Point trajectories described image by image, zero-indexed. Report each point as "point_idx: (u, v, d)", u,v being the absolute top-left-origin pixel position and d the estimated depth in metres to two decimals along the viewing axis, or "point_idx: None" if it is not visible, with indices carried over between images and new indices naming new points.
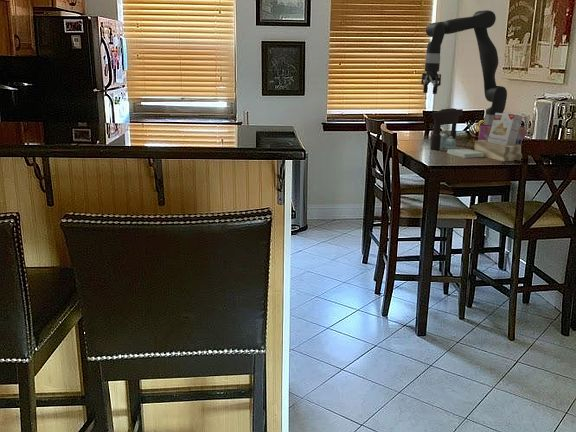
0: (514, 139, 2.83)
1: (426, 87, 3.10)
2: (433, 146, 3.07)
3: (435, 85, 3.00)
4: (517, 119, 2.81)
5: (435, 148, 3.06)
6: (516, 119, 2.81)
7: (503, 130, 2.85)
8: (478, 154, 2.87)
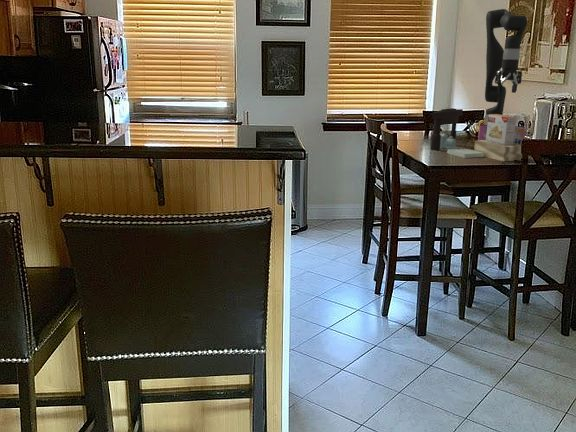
0: (511, 141, 2.82)
1: None
2: (433, 146, 3.07)
3: None
4: (511, 121, 2.79)
5: (435, 148, 3.06)
6: (510, 122, 2.79)
7: (498, 133, 2.84)
8: (478, 154, 2.87)
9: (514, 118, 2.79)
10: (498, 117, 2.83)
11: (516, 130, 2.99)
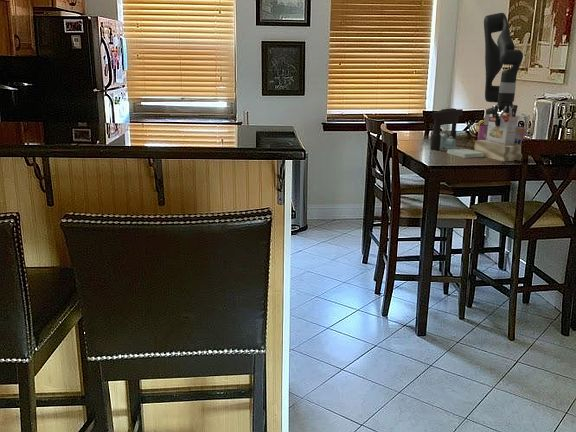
0: (512, 141, 2.82)
1: None
2: (433, 146, 3.07)
3: None
4: (512, 121, 2.79)
5: (435, 148, 3.06)
6: (511, 121, 2.79)
7: (499, 133, 2.84)
8: (478, 154, 2.87)
9: (515, 118, 2.79)
10: None
11: (516, 130, 2.99)
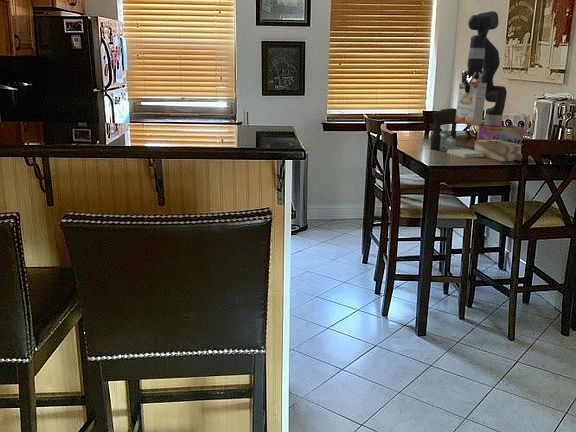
0: (481, 107, 2.81)
1: None
2: (433, 146, 3.07)
3: None
4: (481, 87, 2.78)
5: (435, 148, 3.06)
6: (480, 87, 2.77)
7: (469, 99, 2.82)
8: (478, 154, 2.87)
9: (484, 84, 2.78)
10: None
11: (515, 130, 2.99)
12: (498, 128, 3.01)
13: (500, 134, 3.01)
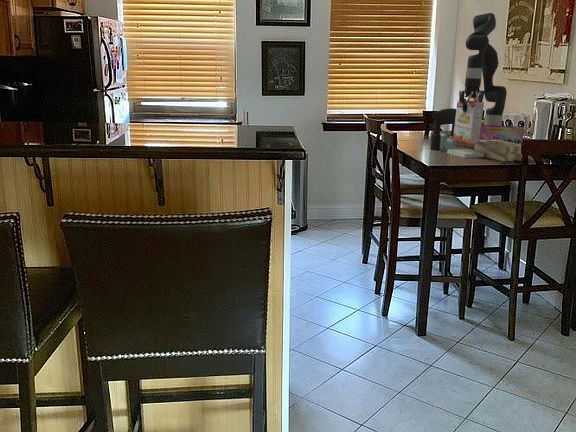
0: (478, 126, 2.84)
1: None
2: (433, 146, 3.07)
3: None
4: (479, 106, 2.80)
5: (435, 148, 3.06)
6: (477, 107, 2.80)
7: (466, 118, 2.85)
8: (478, 154, 2.87)
9: (482, 103, 2.81)
10: None
11: (515, 130, 2.99)
12: (498, 128, 3.01)
13: (500, 134, 3.01)
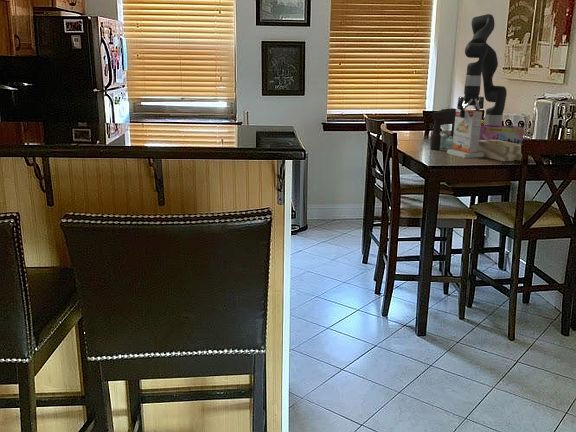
0: (477, 135, 2.85)
1: None
2: (433, 146, 3.07)
3: (479, 108, 2.88)
4: (477, 116, 2.81)
5: (435, 148, 3.06)
6: (476, 116, 2.81)
7: (465, 127, 2.86)
8: (478, 154, 2.87)
9: (480, 112, 2.82)
10: None
11: (515, 130, 2.98)
12: (498, 128, 3.00)
13: (500, 134, 3.01)
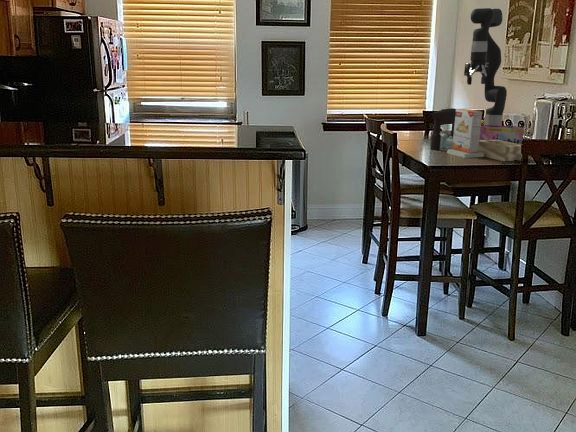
0: (477, 135, 2.85)
1: None
2: (433, 146, 3.07)
3: None
4: (477, 116, 2.81)
5: (435, 148, 3.06)
6: (476, 116, 2.81)
7: (465, 127, 2.86)
8: (478, 154, 2.87)
9: (480, 112, 2.82)
10: (464, 112, 2.86)
11: (515, 130, 2.98)
12: (497, 128, 3.00)
13: (499, 134, 3.01)
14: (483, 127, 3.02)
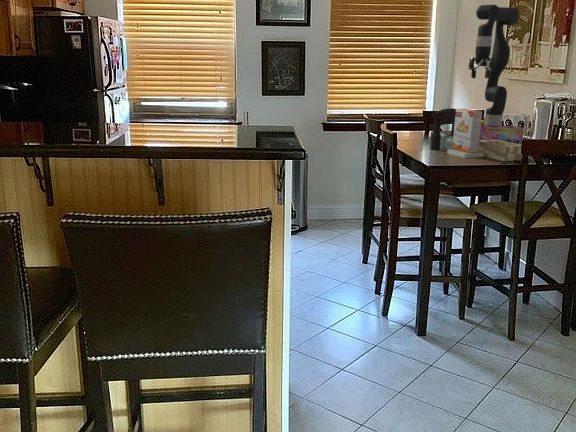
0: (477, 135, 2.85)
1: None
2: (433, 146, 3.07)
3: None
4: (477, 116, 2.81)
5: (435, 148, 3.06)
6: (476, 116, 2.81)
7: (465, 127, 2.86)
8: (478, 154, 2.87)
9: (480, 112, 2.82)
10: (464, 112, 2.86)
11: (514, 130, 2.98)
12: (497, 128, 3.00)
13: (499, 134, 3.00)
14: (483, 127, 3.01)
